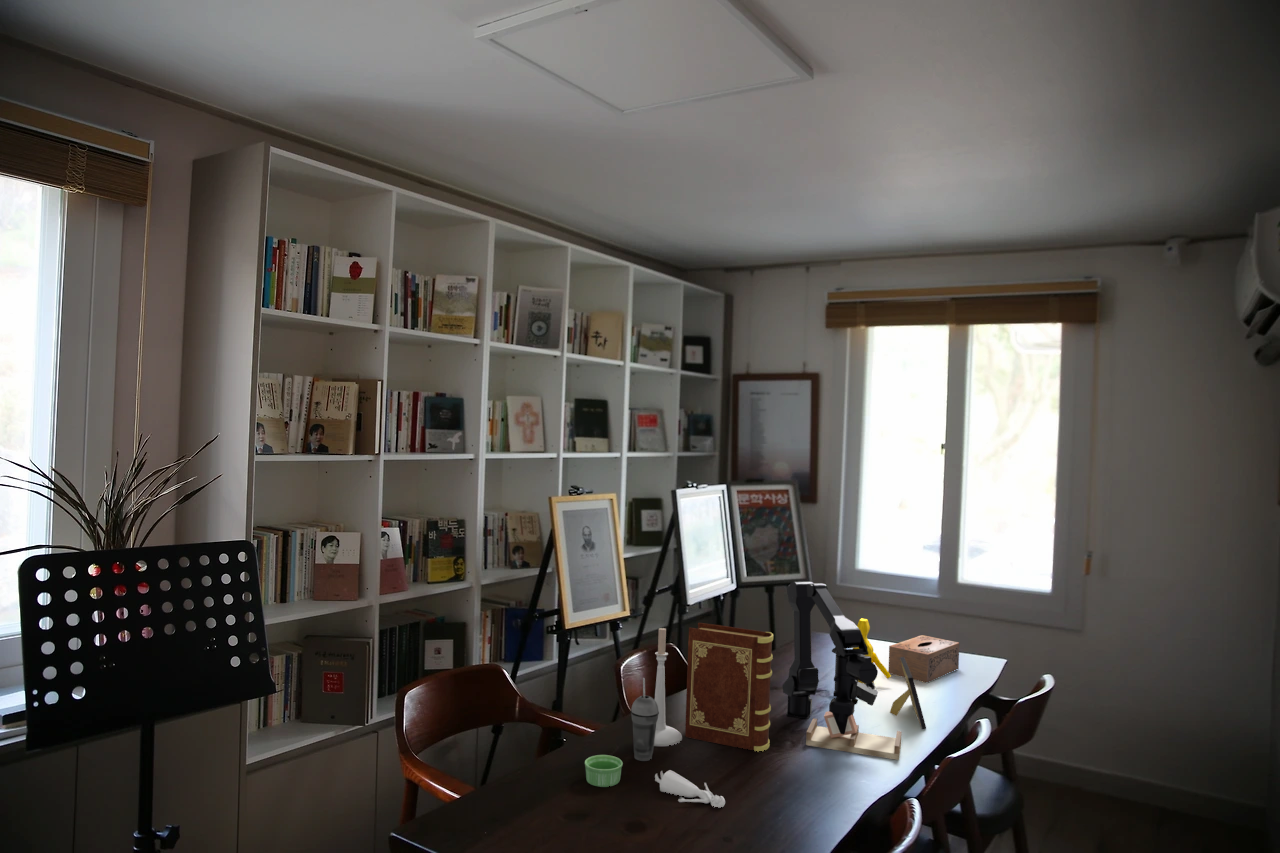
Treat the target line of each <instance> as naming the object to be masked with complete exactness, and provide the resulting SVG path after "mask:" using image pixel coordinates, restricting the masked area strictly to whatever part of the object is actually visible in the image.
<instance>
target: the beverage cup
mask: <svg viewBox="0 0 1280 853" xmlns="http://www.w3.org/2000/svg"><path fill="white" fill-rule="evenodd" d="M630 714H631V722H632V734H633V735H632V736H633V737H632V738H633V739H632V740H633V753H634V759H635V760H637V761H641V762H647V761H651V760H652V759H653V754H654V748H655V746H654V740H655V731H656V723H657V720H658V714H659V711H658V705H657V703H656V701H655V698H653V697H652V696H650V695H646V679H645V677H643V678H642V695H640V696H639V697H637V698H636V699H635V700H634V701H633V702H632V705H631V709H630ZM650 759H651V760H650Z"/></svg>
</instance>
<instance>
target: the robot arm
mask: <svg viewBox="0 0 1280 853" xmlns="http://www.w3.org/2000/svg"><path fill="white" fill-rule="evenodd" d="M786 588H787V589H786V592H787V598H788V600H787V601H788V604H789V605H790V607H791V608H792V611H793V631H794V632H793V635H794V638H793V642H794V644H793V646H794V650H793V652H794V660H793V661H792V664H791V666H789V669H788V671H789V672H788V677H787V679H786V680H785V681H784V682H783V684H782V692H783V694H785V695H786V696H787V706H786V709H787V711H786V713H785V716H787V717H792V718H800V719H806V720H807V719H809V717H810V716H811V715H812V713H813V699H812V698H811V696H815V695H816V693H817V690H818V685H819V682H820V680H819V669H818V667H815V665H814V663H813V661H812V610H813V609H814V608H815V606H816V607H817V609H818V610H819V611H820V613H821V616H822V617H823V618H824V619H825V622H827V624H828V627H829V638H830V639H831V641H832V643H833V646H834V647H833V648H832V649H831V652H832V653H833V654H835V666H834V667H835V669H834V676H833V682H834V690H833V697H834V698H832V699H831V700H830V702H829V707H828V711H830V712H832V714H833V716H834V718H835V721H836V723H837V726H838V729H839V731H840V733H841V734H845V730H846V726H847V721H848V717H849V716H851V715H853V716H854V713H855V706H856V705H857V704H858V701H859V700H860V701H863V702H865V703H866V704H867V705H869V706H874V704H875V701H876V699H877V697H878V693H879V691H878V689H877V688H876V687H875V680H876V679H877V678H878V674H879V672H878V667H877V666H876V664H875V663H872V662H871V659H872V658H871V657H869V656H865V655H868V654H869V653H868V650H867V646H866V643H865V641H864V639H863V636H862V633H861V631H860V629H859V628H858V627H857V625H856V623H855V622H854V621H852V620H850V619H849V618H847V617H846V616H845V615H844V614H843V612H842V610H841V609H840V607H839V606H838V604H837V603H836V601H835V600H834V598H833V596H832V595H831V593H830V592H829V589H828V586H827V584H825V583H822V582H819V583H818V582H817V583H814V582H813V581H812V580H811V581H810V580H808V581H803V580H802V581H791V582H790V584H789V585H787V587H786ZM857 647H859V649H853V648H857ZM858 680H859V681H861V682H863V683H860V682H858ZM873 681H874V683H873ZM864 683H865V684H864Z"/></svg>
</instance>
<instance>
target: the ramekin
mask: <svg viewBox="0 0 1280 853" xmlns="http://www.w3.org/2000/svg"><path fill="white" fill-rule="evenodd" d="M623 764H624V763H623V761H622V760H621V759H620V758H619V757H616V756H613V755H608V754H597V755H592V756H589V757H588V758H586V759H585V760H584V767H585V778H586V782H587V784H590V785H591V786H594V787H600V788H609V786H610V787H613V786H615V785H618V784H619V783H620V780H621V776H622V769H623V768H622V767H623Z"/></svg>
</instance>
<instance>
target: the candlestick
mask: <svg viewBox="0 0 1280 853" xmlns="http://www.w3.org/2000/svg"><path fill="white" fill-rule="evenodd" d="M666 637H667V628H666V627H665V628H664V627H661V628H658V638H657V639H658V640H657V642H658V644H657V651H656V652H655V653H654V654H655V655H656V659H655V660H657V667H656V668H657V669H656V678H655V679H656V681H655V690H654V700H655V701H656V703H657V705H658V711H659V714H658V720H657V723H656V731H655V740H654V747H669V745H671V746H674V744H675V745H678V744H680V743H681V742H680V741H683V735H682V733H681V732H680V731H678V730H677V729H676V728H674V727H672V726H669V725H667V724H666V684H665V683H666V680H665V679H666V676H665V675H666V674H665V668H666V667H665V661H667V656H668V655H669V653H668V652H666V641H667V640H666V639H667V638H666ZM677 743H678V744H677Z"/></svg>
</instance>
